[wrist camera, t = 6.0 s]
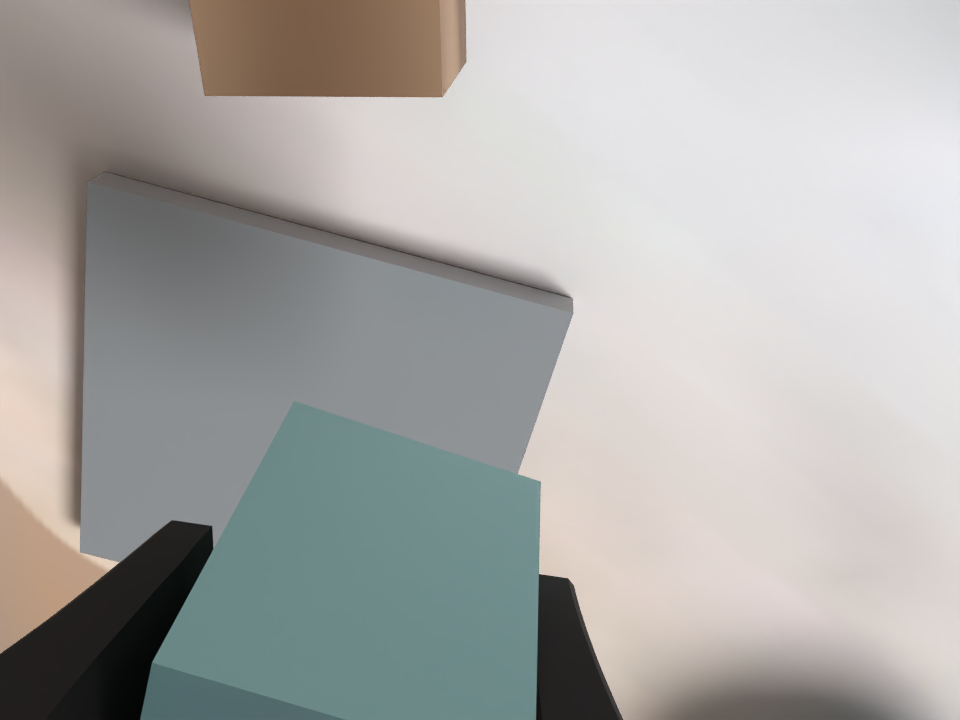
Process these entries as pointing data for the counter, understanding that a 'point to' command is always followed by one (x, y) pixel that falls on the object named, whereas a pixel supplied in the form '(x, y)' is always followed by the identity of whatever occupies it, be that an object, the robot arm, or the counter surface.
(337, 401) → the slate coaster
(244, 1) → the walnut block
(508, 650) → the teal block
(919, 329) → the counter surface
